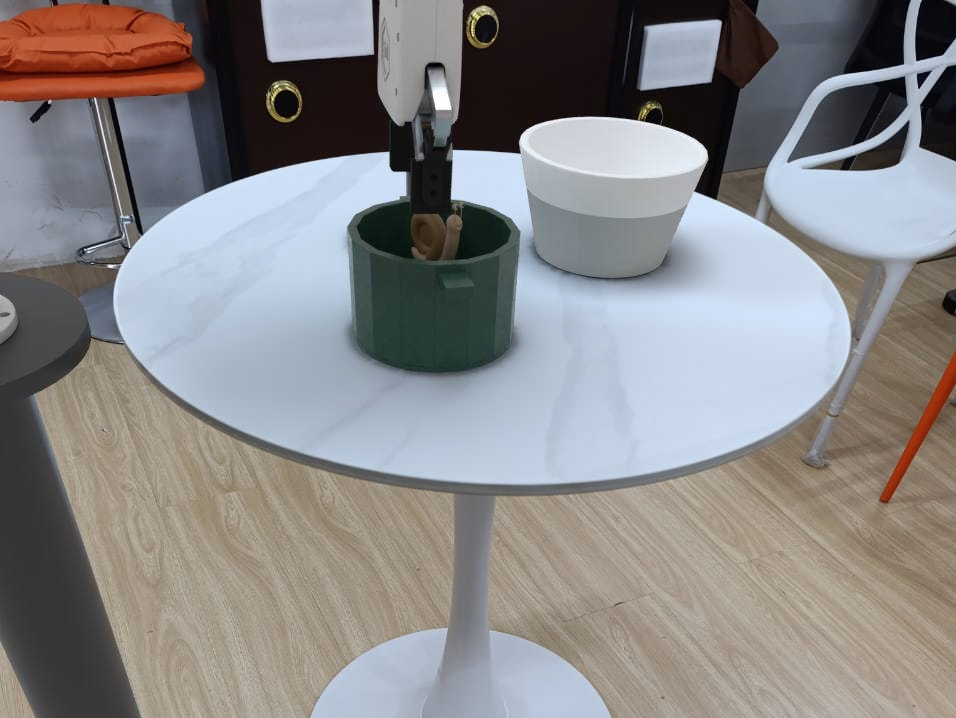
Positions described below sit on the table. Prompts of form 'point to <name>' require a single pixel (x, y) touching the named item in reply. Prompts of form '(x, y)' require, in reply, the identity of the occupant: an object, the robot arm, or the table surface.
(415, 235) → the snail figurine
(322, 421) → the table surface
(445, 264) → the pot
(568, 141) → the bowl
